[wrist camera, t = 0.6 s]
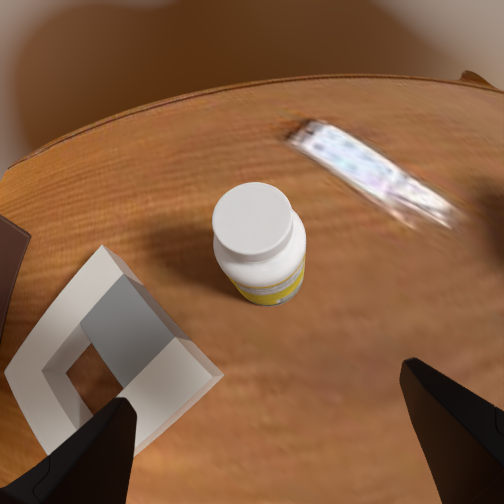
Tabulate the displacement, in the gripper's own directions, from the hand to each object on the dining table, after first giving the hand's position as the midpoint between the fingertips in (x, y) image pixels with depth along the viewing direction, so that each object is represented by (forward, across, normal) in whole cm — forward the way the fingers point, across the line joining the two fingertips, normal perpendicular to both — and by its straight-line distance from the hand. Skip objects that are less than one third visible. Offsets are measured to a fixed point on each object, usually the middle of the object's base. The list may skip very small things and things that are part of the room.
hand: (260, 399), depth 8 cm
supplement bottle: (+15, 0, +3) cm, 16 cm away
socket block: (+10, +15, +8) cm, 20 cm away
